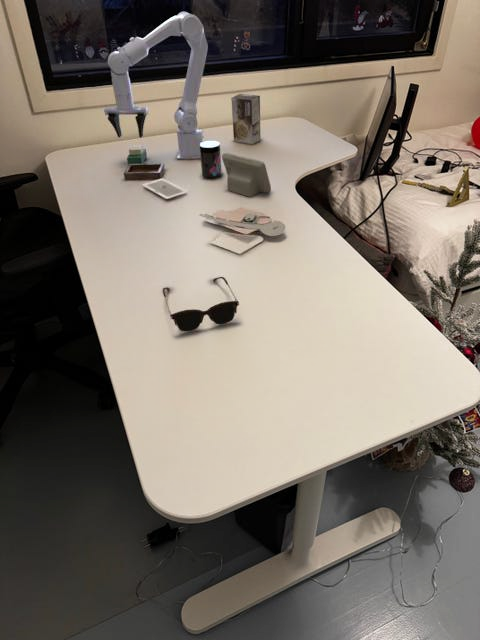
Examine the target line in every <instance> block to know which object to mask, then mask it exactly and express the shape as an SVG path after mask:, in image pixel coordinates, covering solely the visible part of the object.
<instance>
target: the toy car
mask: <svg viewBox="0 0 480 640" xmlns="http://www.w3.org/2000/svg"><path fill="white" fill-rule="evenodd" d="M128 153H129V154H128V155H127V156H126V161H127V166H129V164H144V161H145V160H147V158H148V157H147V156H148V154H147V149H146V148H144V145H142V144H140V145H130V147H129V148H128Z"/></svg>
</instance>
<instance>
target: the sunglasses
mask: <svg viewBox="0 0 480 640" xmlns="http://www.w3.org/2000/svg"><path fill="white" fill-rule="evenodd" d="M220 279H221V280H223V281H224V284H225V285H226V286H227V287H228V289H229V291H230V292H231V295H232V296H233V298H234V300H230V301H223V302H220V303H217V304H214V305H212V306H211V307H209V308H208V309H207V310H201V309H195V308H194V309H185V310H181V311H176V312H174V313H172V312H171V310H170V307H169V303H168V301H167V295H166V291H168V292H169V291H170V288H169V287H168V286H167V287H163V288H162V295H163V297H164V300H165V303H166V306H167V310H168V313H169V316H170V320H173V322H174V325H175V327H177V328H178V330H179V331H181V332H185V333H188V332H192V331H193V332H194V331H196V330H197V329H199V327H200V326H201V324H203V321H204V317H205V316H208V318H209V319H210V321H211V322H213V323H214V324H216V325H218V326H219V325H220V326H221V325H225V324H228V323H230V322H232V321H233V320H234V318H235V315H236V314H237V311H238V306H239V305H240V301H239V300H238V299H237V297H236V296H235V293H234V292H233V290H232V289H231V286H230V284H229V282H228V280H227V279H226V278H225V277H224V276H218V277H215V278H213V279H212V281H213V282H214V283H216V282H217V281H218V280H220ZM165 290H166V291H165Z"/></svg>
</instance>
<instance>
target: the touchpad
mask: <svg viewBox="0 0 480 640" xmlns="http://www.w3.org/2000/svg"><path fill="white" fill-rule="evenodd" d="M142 186H143V187H145V188H146V189H148V190H149V191H151V192H153V193H155V194H157V195H159V196H160V197H162V198H163V199H166V200H168V199H172V198H174V197H177V196H180V195H183V194H186V193H188V192H189V191H188V190H187V189H184V188H182V187H180V186H179V185H177V184H174V183H173V182H171V181H169V180H168V179H165V178H163V177H162V178H161V179H158V180H152V181H149V182H145V183H143V184H142Z"/></svg>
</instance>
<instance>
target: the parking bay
mask: <svg viewBox="0 0 480 640" xmlns="http://www.w3.org/2000/svg"><path fill="white" fill-rule="evenodd" d="M165 171H166V167H165V163H164V162H162V163H161V162H159V163H158V162H157V163H156V162H155V163H143V164H129V165H127V167H126V168H125V170H124V172H123V176H124V181H150V180H152V181H155V180H158V179H161V178H163V176H164V173H165Z"/></svg>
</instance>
